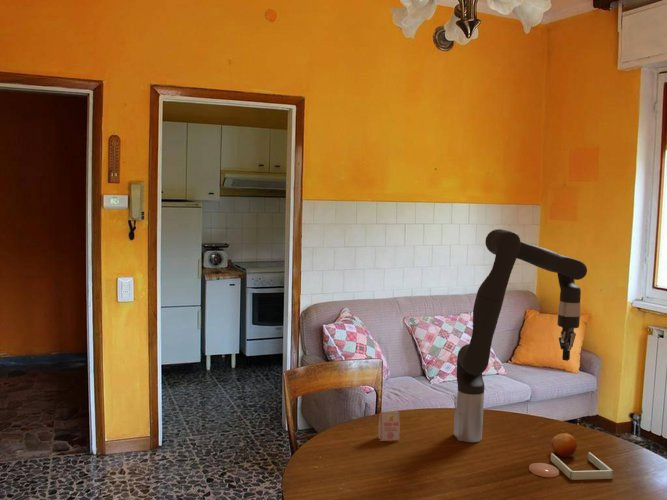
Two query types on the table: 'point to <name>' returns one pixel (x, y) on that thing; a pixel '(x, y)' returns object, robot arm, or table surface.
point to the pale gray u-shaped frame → (579, 475)
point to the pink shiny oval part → (544, 470)
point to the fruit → (564, 445)
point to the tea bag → (389, 426)
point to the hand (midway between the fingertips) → (565, 360)
